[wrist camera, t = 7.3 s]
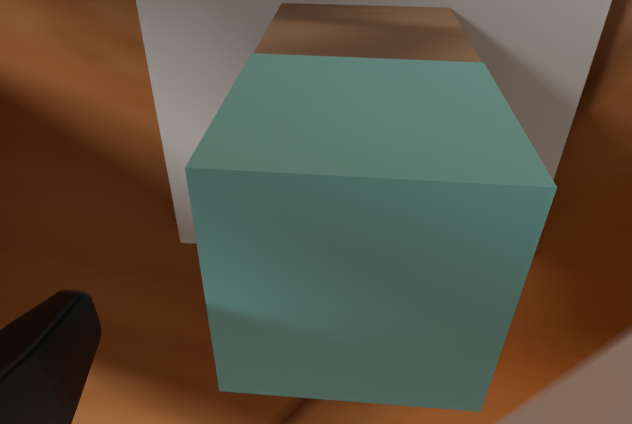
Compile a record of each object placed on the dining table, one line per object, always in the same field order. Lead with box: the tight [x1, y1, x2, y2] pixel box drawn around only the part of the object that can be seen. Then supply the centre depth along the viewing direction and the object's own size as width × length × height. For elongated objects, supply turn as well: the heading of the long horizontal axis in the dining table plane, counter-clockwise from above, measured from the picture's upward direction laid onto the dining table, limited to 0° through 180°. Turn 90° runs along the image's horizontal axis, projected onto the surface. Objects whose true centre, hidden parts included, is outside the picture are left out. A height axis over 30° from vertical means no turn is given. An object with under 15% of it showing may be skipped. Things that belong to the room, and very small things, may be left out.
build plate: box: [136, 0, 612, 244], centre depth 17 cm, size 14×14×1 cm
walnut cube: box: [253, 3, 482, 62], centre depth 14 cm, size 5×5×5 cm
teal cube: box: [185, 53, 557, 412], centre depth 10 cm, size 5×5×5 cm
